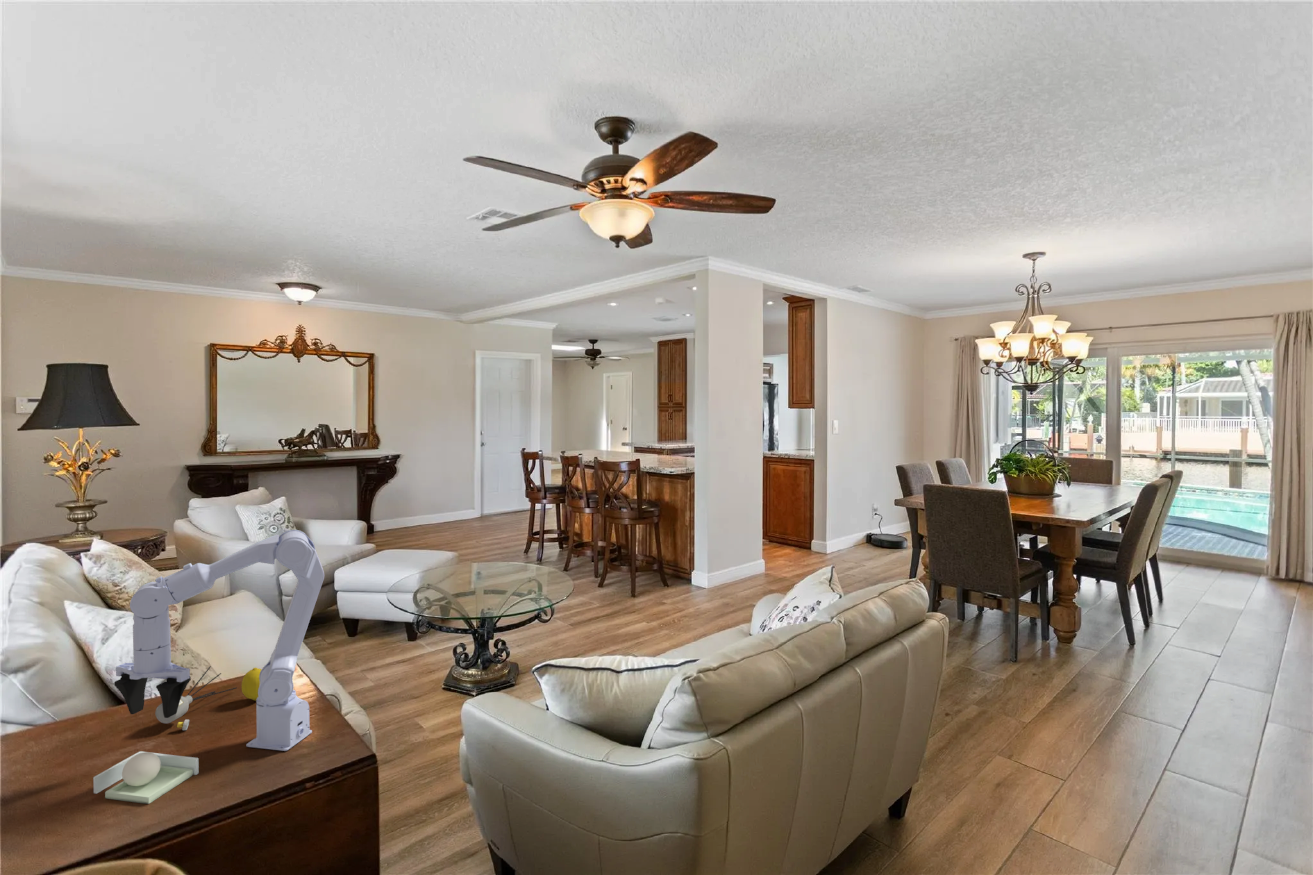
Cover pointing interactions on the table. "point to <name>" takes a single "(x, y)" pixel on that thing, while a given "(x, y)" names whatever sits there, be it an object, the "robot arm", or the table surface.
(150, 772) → the ball
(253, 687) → the lemon
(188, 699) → the reed diffuser
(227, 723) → the table surface
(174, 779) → the resting spot
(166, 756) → the acrylic walls
